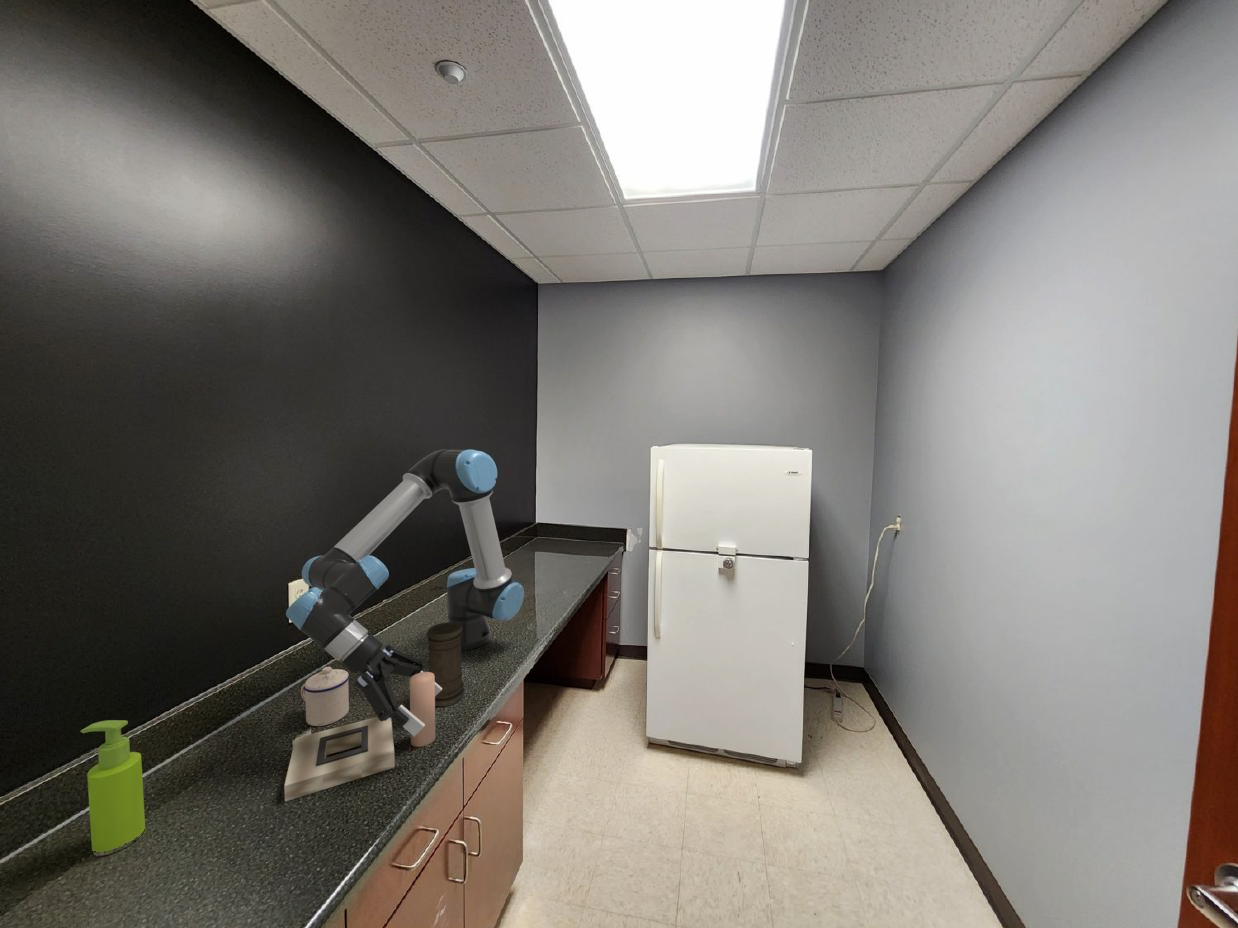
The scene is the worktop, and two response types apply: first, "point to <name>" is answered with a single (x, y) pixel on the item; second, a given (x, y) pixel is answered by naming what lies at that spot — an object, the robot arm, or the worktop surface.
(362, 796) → the worktop surface
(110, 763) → the soap dispenser
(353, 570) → the robot arm
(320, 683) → the teacup with lid
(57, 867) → the worktop surface
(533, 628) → the worktop surface
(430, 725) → the peg
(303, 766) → the band board
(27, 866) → the worktop surface
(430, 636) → the container
